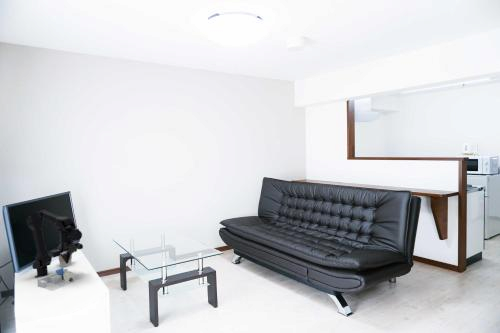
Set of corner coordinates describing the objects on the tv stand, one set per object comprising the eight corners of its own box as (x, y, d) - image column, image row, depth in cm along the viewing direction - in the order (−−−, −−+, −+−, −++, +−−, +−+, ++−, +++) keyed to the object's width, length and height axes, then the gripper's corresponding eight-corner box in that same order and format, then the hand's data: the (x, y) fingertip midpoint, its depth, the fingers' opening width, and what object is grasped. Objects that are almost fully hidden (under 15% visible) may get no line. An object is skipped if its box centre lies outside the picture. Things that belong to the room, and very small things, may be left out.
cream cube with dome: (59, 279, 206) (59, 272, 205) (65, 277, 209) (65, 270, 209) (68, 282, 201) (68, 275, 201) (74, 280, 205) (74, 273, 204)
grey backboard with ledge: (37, 287, 198) (37, 276, 197) (66, 276, 213) (65, 266, 213) (51, 292, 191) (51, 281, 191) (80, 280, 206) (79, 270, 206)
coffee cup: (75, 262, 236) (74, 242, 235) (69, 267, 227) (67, 246, 226) (62, 263, 236) (61, 242, 234) (55, 268, 227) (54, 246, 225)
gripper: (58, 245, 192) (59, 271, 194) (88, 236, 208) (89, 260, 210) (47, 242, 198) (48, 267, 199) (76, 233, 214) (78, 257, 215)
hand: (66, 263), depth 206 cm, fingers closed
